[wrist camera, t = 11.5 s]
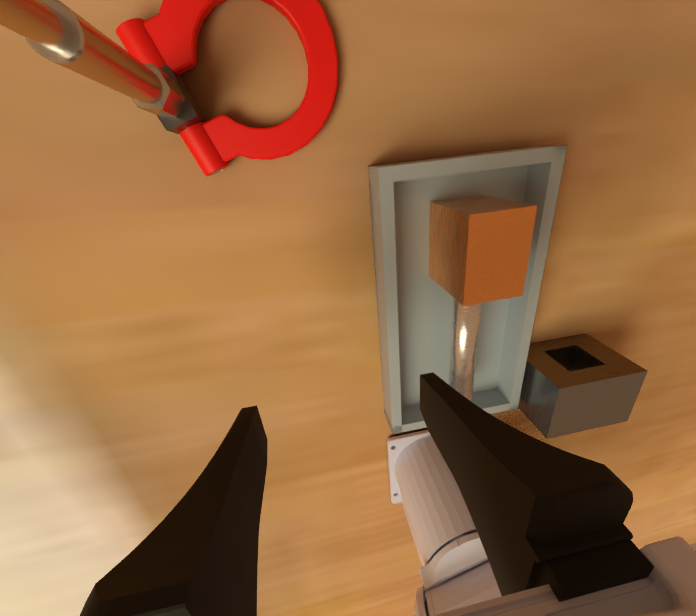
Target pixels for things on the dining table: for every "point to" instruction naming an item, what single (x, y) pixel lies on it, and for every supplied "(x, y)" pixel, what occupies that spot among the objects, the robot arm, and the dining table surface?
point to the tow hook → (182, 70)
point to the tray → (430, 298)
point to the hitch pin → (477, 266)
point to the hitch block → (577, 385)
